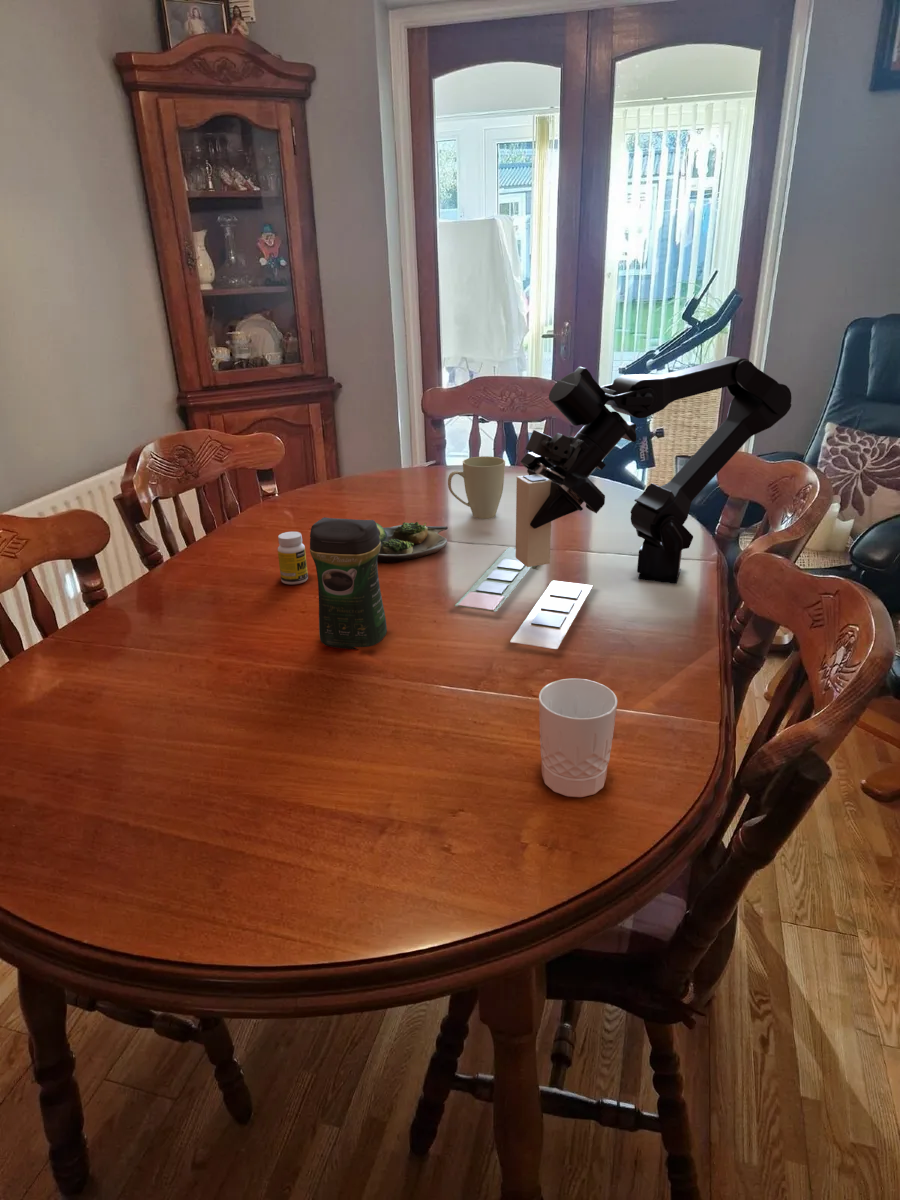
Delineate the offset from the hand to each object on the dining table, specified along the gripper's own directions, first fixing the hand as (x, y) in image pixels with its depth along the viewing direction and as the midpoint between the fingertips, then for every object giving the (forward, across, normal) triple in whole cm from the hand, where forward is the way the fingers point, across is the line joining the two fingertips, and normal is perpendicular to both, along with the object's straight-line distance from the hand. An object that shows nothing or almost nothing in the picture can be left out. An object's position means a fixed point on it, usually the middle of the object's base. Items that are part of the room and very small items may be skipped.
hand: (525, 522), depth 118 cm
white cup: (+20, +44, -1) cm, 49 cm away
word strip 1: (+10, -8, +9) cm, 16 cm away
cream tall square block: (+4, 0, +6) cm, 7 cm away
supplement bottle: (+33, -23, -14) cm, 43 cm away
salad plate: (+18, -32, +1) cm, 37 cm away
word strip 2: (+8, +8, +10) cm, 15 cm away
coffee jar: (+30, +4, -11) cm, 32 cm away
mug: (+3, -44, +16) cm, 47 cm away
